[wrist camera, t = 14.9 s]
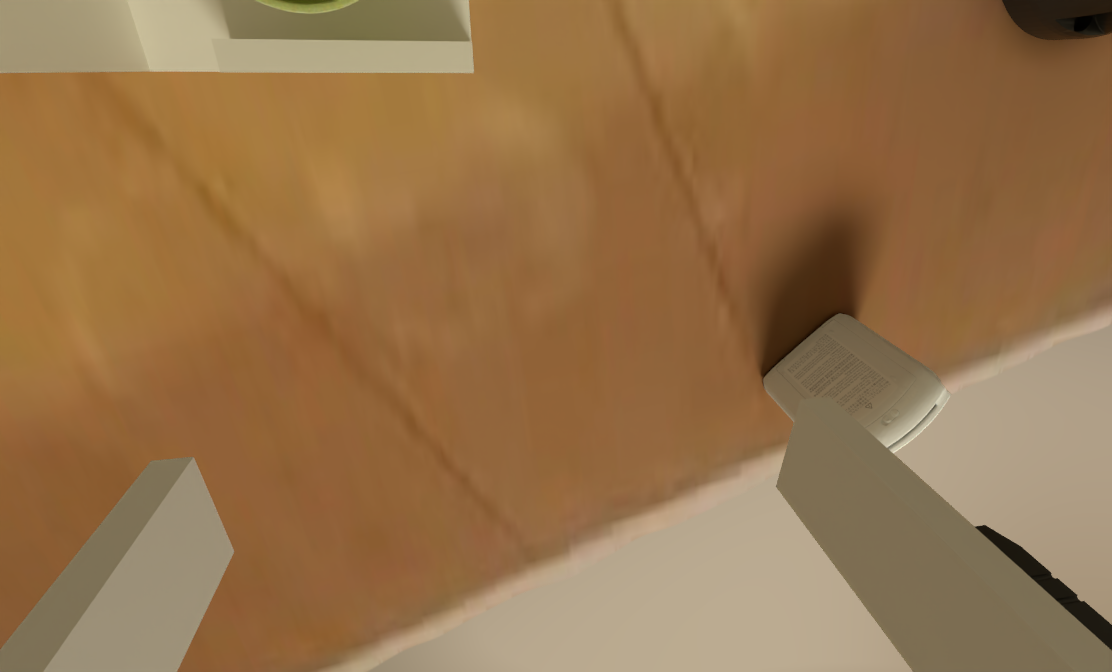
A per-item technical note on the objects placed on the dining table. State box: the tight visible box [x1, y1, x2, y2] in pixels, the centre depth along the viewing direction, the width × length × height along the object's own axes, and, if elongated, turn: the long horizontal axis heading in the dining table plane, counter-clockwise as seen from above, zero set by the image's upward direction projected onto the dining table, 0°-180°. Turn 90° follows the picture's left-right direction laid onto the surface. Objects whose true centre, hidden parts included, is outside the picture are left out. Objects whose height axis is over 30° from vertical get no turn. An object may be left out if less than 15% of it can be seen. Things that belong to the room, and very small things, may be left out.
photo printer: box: [763, 313, 951, 453], centre depth 43 cm, size 10×4×12 cm, turn 138°
